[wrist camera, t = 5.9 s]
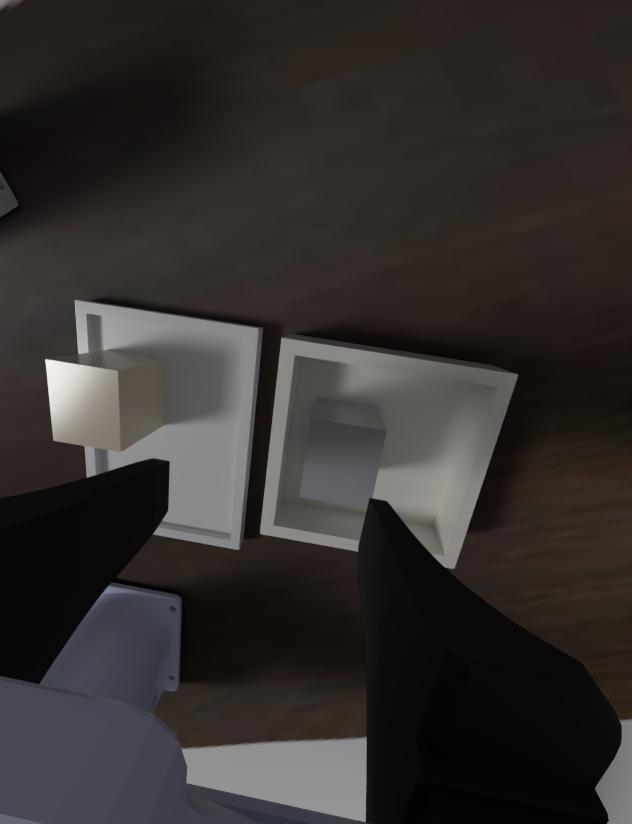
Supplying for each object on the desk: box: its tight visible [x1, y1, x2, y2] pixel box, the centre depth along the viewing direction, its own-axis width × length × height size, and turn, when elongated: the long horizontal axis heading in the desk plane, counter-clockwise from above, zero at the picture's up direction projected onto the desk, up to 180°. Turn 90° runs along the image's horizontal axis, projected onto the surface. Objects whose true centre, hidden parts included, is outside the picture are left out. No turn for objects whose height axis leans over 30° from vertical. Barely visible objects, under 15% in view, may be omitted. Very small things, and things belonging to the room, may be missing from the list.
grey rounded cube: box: [300, 397, 387, 508], centre depth 17 cm, size 4×3×4 cm
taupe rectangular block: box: [46, 350, 165, 452], centre depth 17 cm, size 4×3×4 cm
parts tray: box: [75, 300, 263, 550], centre depth 20 cm, size 14×10×1 cm
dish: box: [260, 334, 518, 569], centre depth 18 cm, size 11×11×3 cm
